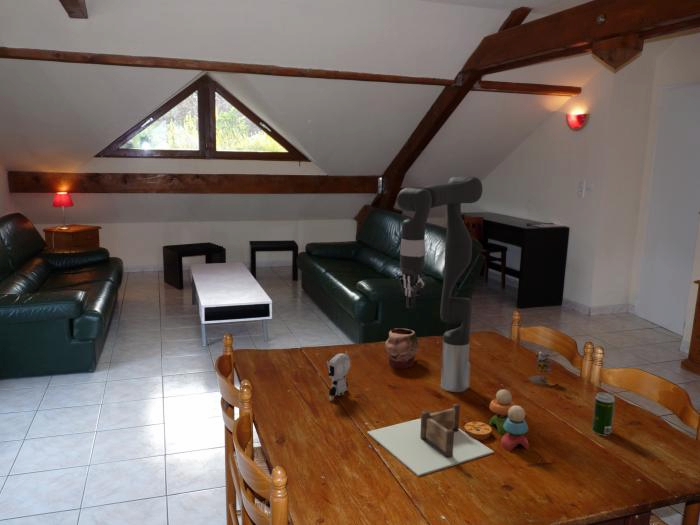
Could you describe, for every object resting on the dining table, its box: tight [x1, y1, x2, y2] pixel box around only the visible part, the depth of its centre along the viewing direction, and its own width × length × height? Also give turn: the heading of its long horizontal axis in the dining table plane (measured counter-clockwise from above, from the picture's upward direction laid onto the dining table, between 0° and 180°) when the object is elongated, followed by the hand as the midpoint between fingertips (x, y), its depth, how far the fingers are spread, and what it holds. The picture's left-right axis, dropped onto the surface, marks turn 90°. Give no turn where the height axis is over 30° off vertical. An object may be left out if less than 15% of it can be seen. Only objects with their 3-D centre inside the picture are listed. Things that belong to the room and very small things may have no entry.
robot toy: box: [326, 350, 351, 401], centre depth 193 cm, size 12×4×15 cm, turn 149°
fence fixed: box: [420, 403, 461, 440], centre depth 167 cm, size 14×2×8 cm, turn 119°
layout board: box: [366, 417, 494, 477], centre depth 164 cm, size 26×26×1 cm
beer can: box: [591, 392, 616, 436], centre depth 170 cm, size 5×5×12 cm
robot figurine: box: [527, 351, 553, 387], centre depth 208 cm, size 11×9×12 cm
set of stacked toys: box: [464, 388, 530, 452], centre depth 166 cm, size 18×17×12 cm
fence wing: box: [426, 418, 454, 457], centre depth 158 cm, size 11×2×7 cm, turn 29°
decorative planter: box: [384, 328, 419, 369], centre depth 225 cm, size 20×12×14 cm, turn 153°
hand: (410, 307), depth 177 cm, fingers closed
